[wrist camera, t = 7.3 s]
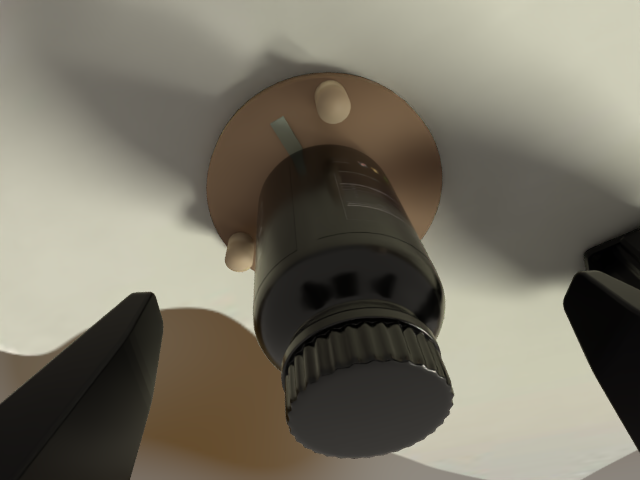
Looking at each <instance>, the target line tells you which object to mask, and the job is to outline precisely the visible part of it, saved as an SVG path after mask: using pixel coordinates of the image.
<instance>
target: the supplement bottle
mask: <svg viewBox="0 0 640 480" xmlns="http://www.w3.org/2000/svg"><path fill="white" fill-rule="evenodd" d="M444 314H445V295H444V289H443V286H442V283H441V281H440V278H439V276H438V274H437V272H436V269H435V267H434V265H433V263H432V261H431V260H430V258H429V256H428V254H427V252H426V250H425V248H424V246H423V244H422V242H421V240H420V238H419V236H418V235H417V233H416V231H415V229H414V227H413V225H412V223H411V221H410V219H409V217H408V215H407V213H406V211H405V210H404V208H403V206H402V204H401V202H400V200H399V198H398V196H397V194H396V192H395V190H394V188H393V187H392V185H391V183H390V181H389V179H388V178H387V176H386V174H385V173H384V171H383V170H382V169H381V167H380V166H379V165H378V164H377V163H376V162H375V161H374V160H373V159H371V158H370V157H369V156H367V155H366V154H364V153H362V152H360V151H358V150H356V149H353V148H351V147H347V146H343V145H335V144H322V145H315V146H311V147H307V148H304V149H301V150H299V151H297V152H295V153H293V154H291V155H289V156H288V157H286V158H285V159H284V160H282V161H281V162H280V163H279V164H278V165H277V166H276V167H275V168H274V169H273V170H272V171H271V173H270V174H269V175H268V177H267V178H266V180H265V182H264V184H263V187H262V189H261V192H260V196H259V202H258V213H257V232H256V254H255V277H254V300H253V323H254V331H255V334H256V338H257V341H258V343H259V345H260V347H261V349H262V351H263V352H264V354H265V355H266V357H267V358H268V359H269V360H270V362H271V363H272V364H273V365H274V366H275V367H276V368H277V369H279V370H280V371H281V379H282V386H283V389H284V392H285V411H286V421H287V424H288V425H289V429H290V433H291V434H292V435H294V436H295V439H296V441H297V442H299V443H302V444H303V446H304V447H305V448H308V449H311V450H313V451H314V452H315V453H320V454H324V455H326V456H332V457H338V458H352V459H356V458H370V457H373V456H378V455H385V454H388V453H391V452H397V451H399V450H401V449H403V448H406V447H410V446H412V445H414V444H415V443H416V442H419V441H421V440H424V439H425V438H426V437H427V436H428V435H429V434H431V433H433V432H434V431H435V430H436V428H437V427H439V426H440V425H441V424H443V422H444V419H445V418H446V417H447V416H448V415H449V413H450V411H449V410H450V408H451V407H452V406H453V400H452V399H453V396H454V392H453V388H452V385H451V380H450V378H449V375H448V373H447V370H446V368H445V366H444V363H443V361H442V359H441V352H440V349H439V346H438V344H437V342H436V339H437V337H438V335H439V333H440V330H441V327H442V324H443V320H444Z"/></svg>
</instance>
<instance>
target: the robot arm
mask: <svg viewBox="0 0 640 480" xmlns="http://www.w3.org/2000/svg"><path fill="white" fill-rule="evenodd" d="M593 256H594V257H593ZM584 261H585V266H586V271H580V272H577V273H576V274H575V275H574V277H573V279H572V281H571V284H570V286H569V288H568V290H567V293H566V295H565V297H564V301H563V306H564V310H565V313H566V315H567V317H568V319H569V321H570V324H571V326H572V328H573V330H574V332H575V335H576V337H577V339H578V341H579V343H580V346H581V348H582V350H583V352H584V354H585V357H586V359H587V361H588V363H589V365H590V367H591V369H592V371H593V373H594V375H595V377H596V378H597V380H598V382H599V384H600V386H601V387H602V389H603V391H604V392H605V394H606V396H607V398H608V399H609V401H610V403H611V404H612V406H613V408H614V410H615V411H616V413H617V415H618V416H619V418H620V420H621V422H622V423H623V425H624V427H625V428H626V430H627V432H628V434H629V435H630V437H631V439H632V440H633V442H634V444H635V446H636V447H637V449H638V451H639V452H640V228H639V229H637V230H634V231H632V232H630V233H627V234H625V235H622V236H620V237H618V238H615V239H613V240H611V241H608V242H606V243H603V244H601V245H599V246H596V247H594V248H591V249H590V250H588V251H587V252H586V253H585V254H584ZM162 335H163V320H162V316H161V313H160V310H159V306H158V303H157V299H156V296H155V295H154V293H152V292H136V293H132V294H130V295H129V296H128V297H126V298H125V299H124V300H123V301H122V302H120V303H119V304H118V305H117V306H116V307H114V308H113V309H112V310H111V311H110V312H109V313H107V314H106V315H105V316H104V317H103V318H101V319H100V320H99V321H98V322H97V323H95V324H94V325H93V326H92V327H91V328H89V329H88V330H87V331H86V332H85V333H84V334H82V335H81V336H80V337H79V338H78V339H76V340H75V341H74V342H73V343H72V344H70V345H69V346H68V347H67V348H66V349H64V350H63V351H62V352H61V353H60V354H59V355H57V356H56V357H55V358H54V359H53V360H51V361H50V362H49V363H48V364H47V365H46V366H44V367H43V368H42V369H41V370H39V371H38V372H37V373H36V374H35V375H34V376H32V377H31V378H30V379H29V380H28V381H26V382H25V383H24V384H23V385H22V386H21V387H19V388H18V389H17V390H16V391H14V392H13V393H12V394H11V395H10V396H9V397H7V398H6V399H5V400H4V401H3V402H1V403H0V480H130V477H131V474H132V470H133V467H134V463H135V459H136V456H137V453H138V449H139V446H140V442H141V438H142V435H143V432H144V428H145V424H146V421H147V417H148V414H149V410H150V406H151V402H152V397H153V392H154V386H155V379H156V373H157V367H158V361H159V354H160V348H161V342H162Z"/></svg>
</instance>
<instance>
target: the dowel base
mask: <svg viewBox="0 0 640 480" xmlns="http://www.w3.org/2000/svg"><path fill="white" fill-rule="evenodd" d="M322 144H335V145H343V146H347V147H351V148H353V149H356V150H358V151H360V152H362V153H364V154H366V155H367V156H369V157H370V158H371V159H373V160H374V161H375V162H376V163H377V164H378V165H379V166H380V167H381V169H382V170H383V171H384V173H385V174H386V176H387V178H388V179H389V181H390V183H391V185H392V187H393V188H394V190H395V192H396V194H397V196H398V198H399V200H400V202H401V204H402V206H403V208H404V210H405V211H406V213H407V215H408V217H409V219H410V221H411V223H412V225H413V227H414V229H415V231H416V233H417V235H418V236H419V238H420V240H421V239H422V238H423V237H424V235H425V234H426V232H427V230H428V229H429V227H430V225H431V223H432V221H433V219H434V216H435V214H436V212H437V208H438V205H439V201H440V197H441V190H442V167H441V161H440V156H439V153H438V150H437V146H436V143H435V141H434V139H433V137H432V135H431V133H430V131H429V130H428V128H427V127H426V125H425V124H424V122H423V121H422V120H421V118H420V117H419V116H418V115H417V113H416V112H415V111H414V110H413V109H412V108H411V107H410V106H409V105H408V104H407V103H406V102H405V101H404V100H403V99H402V98H400V97H399V96H398V95H396V94H395V93H394V92H393V91H391V90H389V89H387V88H386V87H384V86H382V85H380V84H378V83H376V82H373V81H371V80H368V79H365V78H363V77H359V76H354V75H350V74H344V73H331V72H326V73H311V74H306V75H301V76H296V77H292V78H289V79H287V80H284V81H281V82H278V83H276V84H274V85H272V86H270V87H268V88H266V89H264V90H262V91H261V92H260V93H258V94H257V95H255V96H254V97H252V98H251V99H250V100H248V101H247V102H246V103H245V104H244V105H243V106H242V107H241V108H240V109H239V110H238V111H237V112H236V113H235V114H234V116H233V117H232V118H231V119H230V121H229V122H228V123H227V125H226V127H225V128H224V130H223V132H222V133H221V135H220V137H219V139H218V142H217V144H216V147H215V149H214V152H213V155H212V157H211V161H210V165H209V169H208V175H207V187H206V188H207V202H208V206H209V211H210V215H211V218H212V221H213V223H214V226H215V228H216V230H217V232H218V234H219V235H220V237H221V239H222V240H223V242H224V243H225V244H226V246H227V252H226V257H225V263H226V265H227V267H228V268H229V269H231V270H233V271H236V272H244V271H247V270H248V269H250V268H251V269H252V270H254V271H255V254H256V232H257V213H258V202H259V196H260V192H261V189H262V187H263V184H264V182H265V180H266V178H267V177H268V175H269V174H270V173H271V171H272V170H273V169H274V168H275V167H276V166H277V165H278V164H279V163H280V162H281V161H282V160H284V159H285V158H286V157H288V156H289V155H291V154H293V153H295V152H297V151H299V150H301V149H304V148H307V147H311V146H315V145H322Z"/></svg>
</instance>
